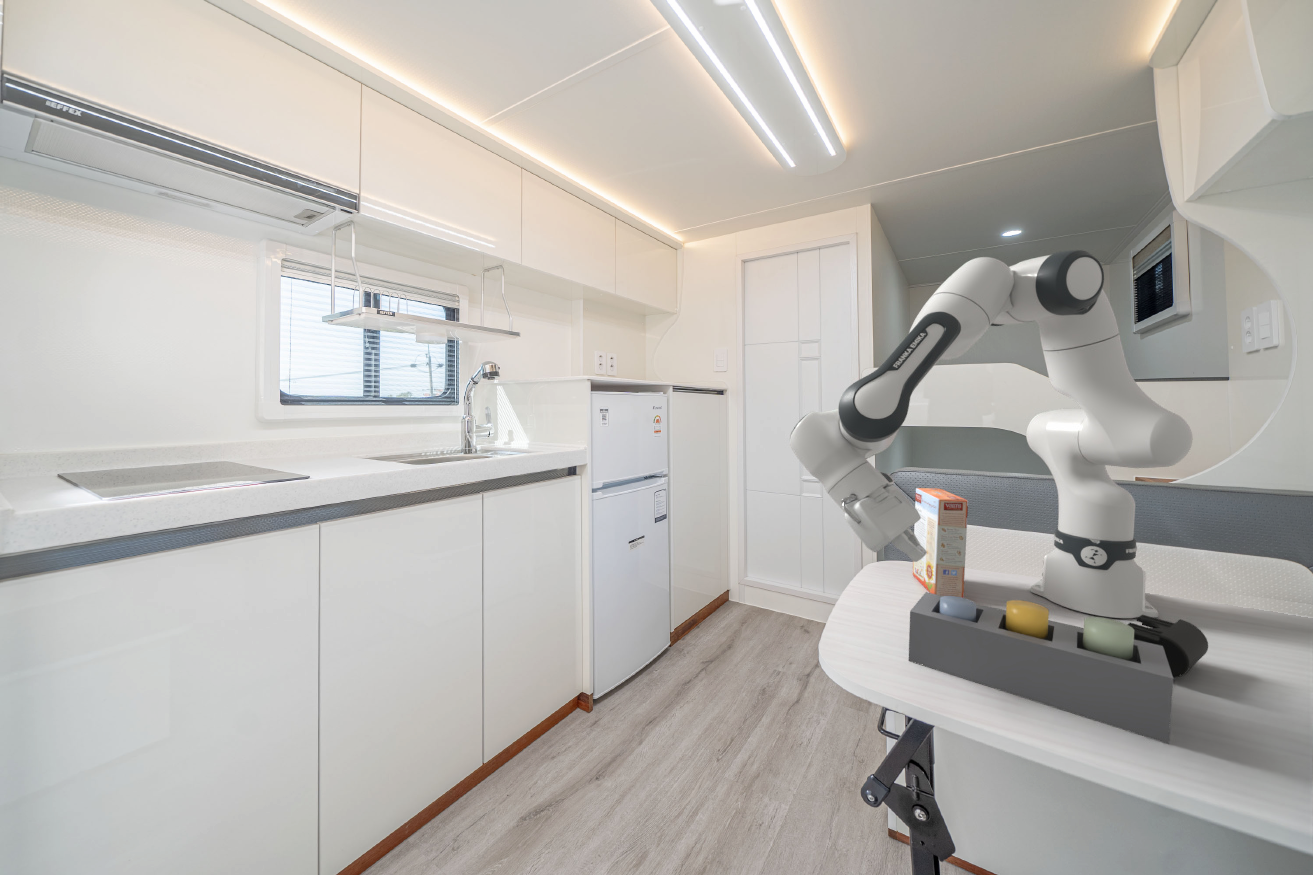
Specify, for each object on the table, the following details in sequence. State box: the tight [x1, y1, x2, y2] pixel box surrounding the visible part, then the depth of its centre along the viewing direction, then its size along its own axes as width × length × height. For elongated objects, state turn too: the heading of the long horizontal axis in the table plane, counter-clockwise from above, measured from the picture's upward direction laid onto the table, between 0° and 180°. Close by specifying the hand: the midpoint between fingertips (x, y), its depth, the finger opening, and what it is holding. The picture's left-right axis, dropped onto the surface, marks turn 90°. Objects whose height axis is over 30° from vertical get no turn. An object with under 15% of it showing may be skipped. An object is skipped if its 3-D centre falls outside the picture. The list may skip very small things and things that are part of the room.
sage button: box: [1083, 616, 1134, 660], centre depth 63 cm, size 5×5×4 cm
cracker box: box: [912, 487, 969, 598], centre depth 104 cm, size 14×6×21 cm, turn 168°
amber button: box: [1005, 599, 1050, 639], centre depth 69 cm, size 5×5×4 cm
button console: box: [908, 591, 1174, 745], centre depth 69 cm, size 10×28×8 cm, turn 48°
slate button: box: [939, 596, 977, 623], centre depth 75 cm, size 5×5×4 cm
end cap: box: [1127, 615, 1209, 678], centre depth 72 cm, size 10×7×7 cm
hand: (921, 557), depth 77 cm, fingers closed
